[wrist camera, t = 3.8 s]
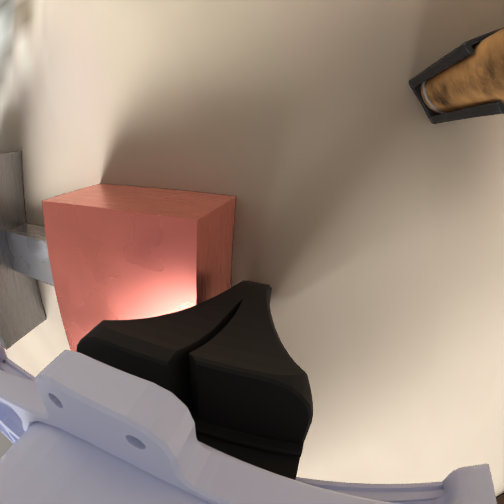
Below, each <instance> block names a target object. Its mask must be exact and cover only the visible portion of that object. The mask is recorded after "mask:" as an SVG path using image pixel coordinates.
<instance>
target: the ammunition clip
mask: <svg viewBox="0 0 504 504" xmlns="http://www.w3.org/2000/svg"><path fill="white" fill-rule="evenodd" d="M409 85H410V86H411V88H412V90H413V91H414V93H415V95H416V96H417V98H418V100H419V101H420V103H421V105H422V107H423V108H424V110H425V112H426V114H427V115H428V117H429V119H430V121H431V123H433V124H436V123H442V122H448V121H454V120H460V119H466V118H473V117H480V116H487V115H495V114H503V113H504V28H501V29H498V30H496V31H493V32H490V33H488V34H485V35H482V36H480V37H477V38H475V39H472V40H470V41H467V42H465V43H464V44H462V45H461V46H459V47H458V48H456V49H455V50H453V51H452V52H450V53H449V54H447V55H446V56H444V57H443V58H441V59H440V60H438V61H437V62H435V63H434V64H433V65H431V66H430V67H428V68H427V69H425V70H424V71H422V72H421V73H420V74H418V75H417V76H415V77H414V78H413V79H411V80H410V81H409Z"/></svg>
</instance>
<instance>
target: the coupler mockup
mask: <svg viewBox="0 0 504 504" xmlns="http://www.w3.org/2000/svg"><path fill="white" fill-rule="evenodd" d="M36 279H37V280H39V281H42V282H44V283H47V284H50V285H53V286H54V282H53V277H52V272H51V266H50V261H49V255H48V248H47V241H46V234H45V227H44V226H39V225H33V224H28V223H26V214H25V205H24V194H23V179H22V151H16V152H8V153H1V154H0V343H1V344H2V346H3V347H4V348H5V349H6V350H7V349H8V348H9V347H11V346H12V345H13V344H14V343H16V342H17V341H18V340H19V339H21V338H22V337H23V336H25V335H26V334H27V333H29V332H30V331H31V330H32V329H34V328H35V327H36V326H38V325H39V324H40V323H42V322H43V321H44V320H46V316H45V313H44V309H43V305H42V301H41V297H40V293H39V289H38V285H37V280H36Z"/></svg>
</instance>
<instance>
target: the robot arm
mask: <svg viewBox="0 0 504 504" xmlns="http://www.w3.org/2000/svg"><path fill="white" fill-rule="evenodd" d="M270 296H271V287H270V285H266V284H261V283H255V282H250V281H242V282H240V283H238V284H237V285H235V286H233V287H231V288H230V289H228V290H226V291H224V292H222V293H221V294H219V295H217V296H215V297H213V298H211V299H208V300H206V301H204V302H202V303H200V304H197V305H195V306H192V307H190V308H187V309H184V310H181V311H177V312H173V313H169V314H165V315H160V316H156V317H149V318H142V319H131V320H102V321H101V322H100V323H99V324H98V325H97V326H95V327H94V328H93V329H92V330H91V331H90V332H89V333H88V334H86V335H85V336H84V337H83V338H82V339H81V340H80V341H79V343H78V344H77V350H76V352H74V351H69V350H64V351H63V352H62V353H61V354H60V355H59V356H58V357H57V358H55V359H54V360H53V361H52V362H51V363H50V364H49V365H48V366H47V367H46V368H44V369H43V370H42V371H41V372H40V373H39V374H38V375H37V376H36V378H35V377H34V376H32V375H31V374H29V373H28V372H27V371H25V370H24V369H22V368H21V367H19V366H18V365H16V364H15V363H14V362H12V361H11V360H10V359H8V358H7V356H6V353H5V350H4V348H3V346H2V344H1V343H0V431H1V432H2V433H3V434H4V435H5V436H6V437H7V438H8V439H9V440H10V441H11V442H12V443H14V444H13V446H12V447H11V448H10V449H9V450H8V451H7V452H6V453H5V454H4V456H3V457H2V458H1V459H0V504H497V501H496V496H495V491H494V486H493V481H492V477H491V472H490V468H489V464H482V465H475V466H467V467H462V468H458V469H456V470H454V471H453V472H451V473H450V474H449V475H448V476H447V477H446V478H445V480H444V481H442V482H431V483H415V484H362V483H345V482H333V481H323V480H314V479H307V478H299V477H296V474H297V469H298V464H299V459H300V456H301V454H302V449H303V443H304V440H305V438H306V435H307V432H308V430H309V427H310V424H311V422H312V417H313V402H312V394H311V389H310V384H309V380H308V376H307V374H306V373H305V372H304V371H303V370H302V369H301V368H300V367H299V366H298V365H297V364H296V363H295V362H294V361H293V359H292V358H291V357H290V356H289V354H288V352H287V351H286V349H285V348H284V346H283V344H282V343H281V341H280V339H279V337H278V334H277V332H276V329H275V327H274V324H273V320H272V316H271V312H270V305H269V304H270Z"/></svg>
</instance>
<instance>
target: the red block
mask: <svg viewBox="0 0 504 504" xmlns="http://www.w3.org/2000/svg"><path fill="white" fill-rule="evenodd" d="M235 202H236V196H227V195H219V194H210V193H201V192H191V191H182V190H171V189H161V188H149V187H137V186H124V185H110V184H97V185H93V186H90V187H86V188H83V189H79V190H76V191H72V192H69V193H66V194H62V195H59V196H56V197H53V198H50V199H46V200H43V201H42V206H43V217H44V226H45V234H46V241H47V248H48V255H49V261H50V266H51V272H52V277H53V282H54V287H55V292H56V296H57V301H58V305H59V309H60V313H61V317H62V321H63V325H64V328H65V332H66V335H67V339H68V342H69V346H70V349H71V351H74V352H76V350H77V344H78V343H79V341H80V340H81V339H82V338H83V337H84V336H85V335H86V334H88V333H89V332H90V331H91V330H92V329H93V328H94V327H95V326H97V325H98V324H99V323H100V322H101V321H102V320H131V319H142V318H149V317H156V316H160V315H165V314H169V313H173V312H177V311H181V310H184V309H187V308H190V307H192V306H195V305H197V304H200V303H202V302H204V301H206V300H208V299H211V298H213V297H215V296H217V295H219V294H221V293H222V292H224V291H226V290H228V289H230V281H231V264H232V248H233V232H234V217H235Z"/></svg>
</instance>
